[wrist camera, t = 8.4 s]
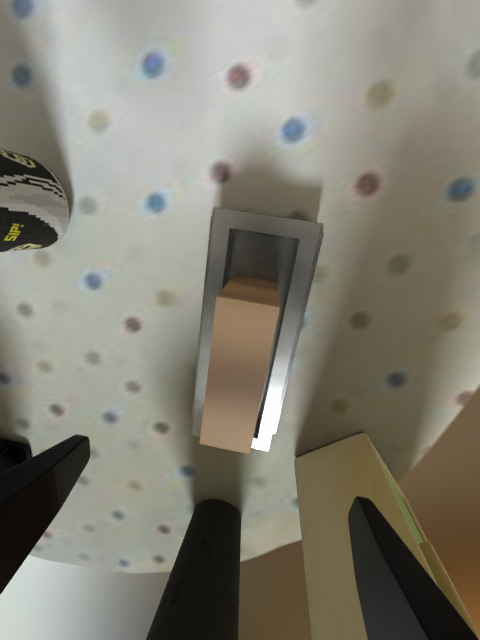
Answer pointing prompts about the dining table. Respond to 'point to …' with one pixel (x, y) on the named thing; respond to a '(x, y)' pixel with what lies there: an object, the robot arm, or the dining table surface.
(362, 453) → the toy refrigerator
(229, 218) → the frame
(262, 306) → the wooden block
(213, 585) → the drinking cup
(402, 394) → the dining table surface
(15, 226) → the beverage can
